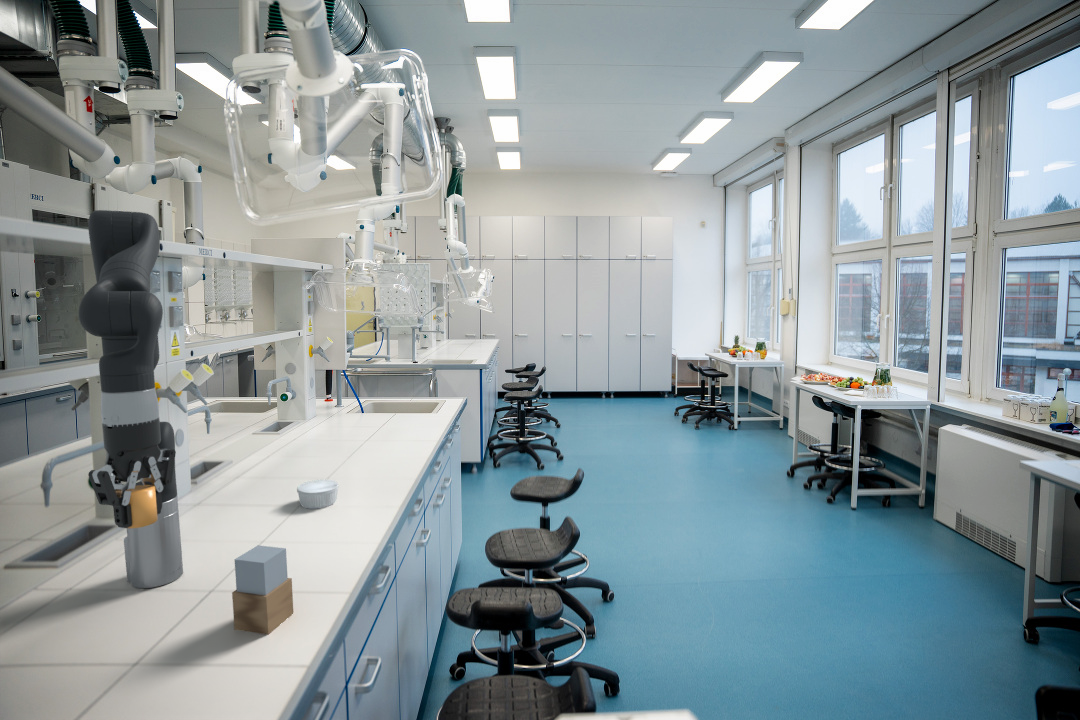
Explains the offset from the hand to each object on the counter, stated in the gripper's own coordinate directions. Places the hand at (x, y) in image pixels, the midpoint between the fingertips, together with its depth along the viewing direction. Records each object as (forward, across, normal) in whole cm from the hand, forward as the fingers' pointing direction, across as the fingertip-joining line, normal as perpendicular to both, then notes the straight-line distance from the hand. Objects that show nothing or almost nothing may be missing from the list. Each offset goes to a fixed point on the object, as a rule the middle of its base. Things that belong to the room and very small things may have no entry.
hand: (139, 520), depth 96 cm
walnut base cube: (+23, -13, +12) cm, 29 cm away
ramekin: (+24, -69, -14) cm, 74 cm away
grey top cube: (+16, -13, +12) cm, 24 cm away
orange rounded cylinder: (0, 0, 0) cm, 0 cm away
